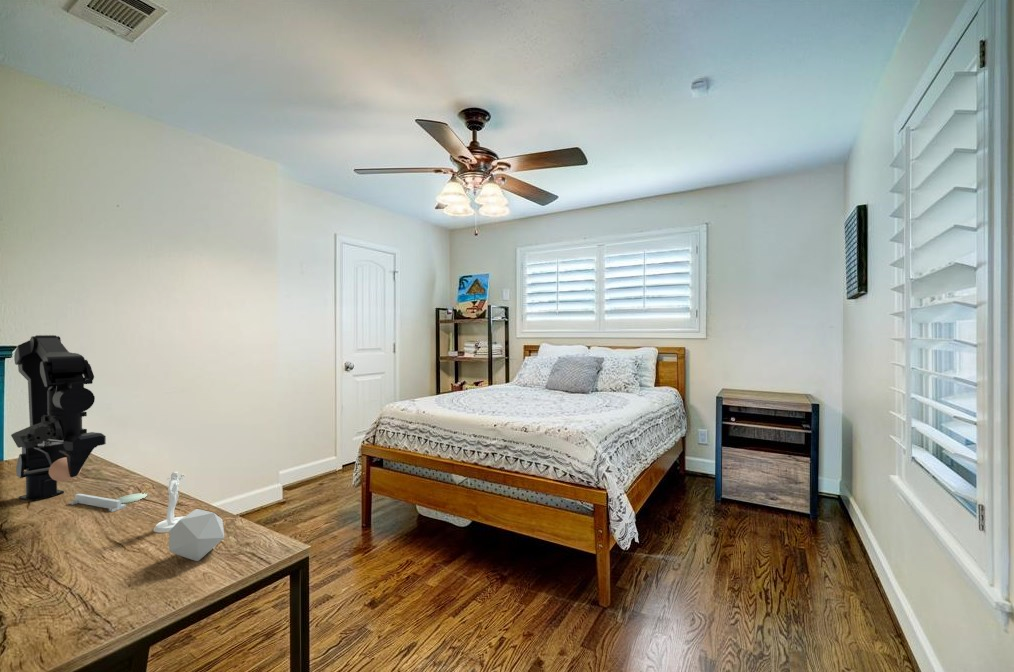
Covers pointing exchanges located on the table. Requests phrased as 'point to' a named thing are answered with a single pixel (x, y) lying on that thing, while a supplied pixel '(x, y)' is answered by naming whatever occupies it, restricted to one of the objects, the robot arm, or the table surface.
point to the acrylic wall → (98, 502)
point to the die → (196, 534)
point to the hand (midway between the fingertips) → (65, 475)
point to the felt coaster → (131, 498)
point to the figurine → (170, 505)
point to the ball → (60, 470)
